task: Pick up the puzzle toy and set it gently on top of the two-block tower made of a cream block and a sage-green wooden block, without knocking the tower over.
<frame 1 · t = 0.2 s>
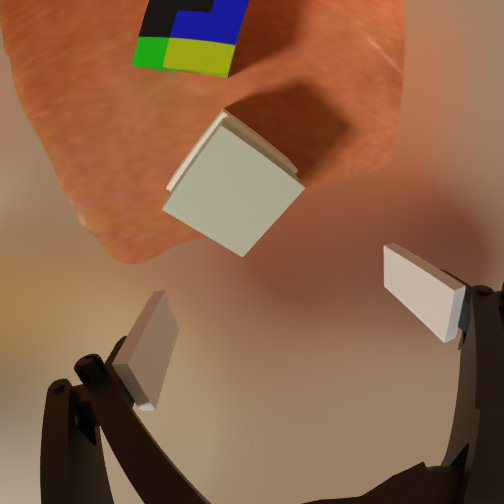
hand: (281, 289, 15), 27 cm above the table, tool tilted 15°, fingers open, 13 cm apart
tower top: (231, 178, 33), point 6 cm above the table, touching tower base
puzzle toy: (199, 40, 27), on the table
tower base: (230, 164, 38), on the table, touching tower top
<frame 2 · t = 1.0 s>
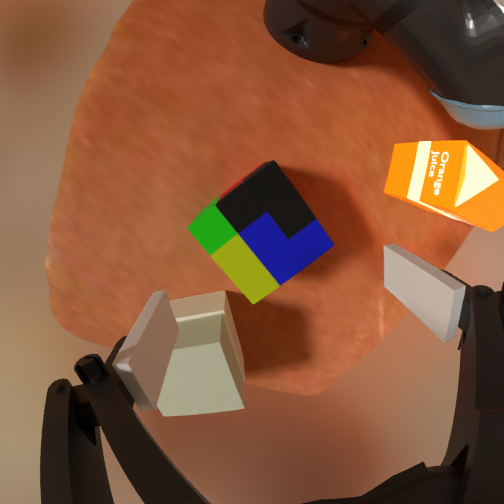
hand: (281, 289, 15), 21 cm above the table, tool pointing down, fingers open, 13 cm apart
tower top: (193, 355, 34), point 6 cm above the table, touching tower base
puzzle toy: (255, 217, 35), on the table
orange juice: (411, 177, 34), on the table
tower base: (196, 331, 40), on the table, touching tower top
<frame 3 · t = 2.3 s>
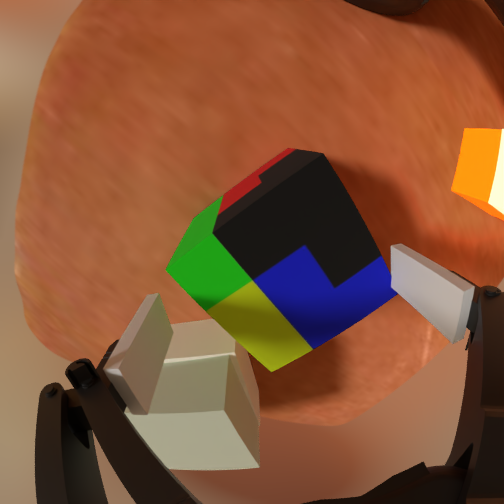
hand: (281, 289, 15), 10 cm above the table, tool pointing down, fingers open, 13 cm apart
tower top: (192, 399, 24), point 6 cm above the table, touching tower base
puzzle toy: (273, 227, 24), on the table, touching gripper
orange juice: (479, 173, 22), on the table
tower base: (198, 361, 30), on the table, touching tower top
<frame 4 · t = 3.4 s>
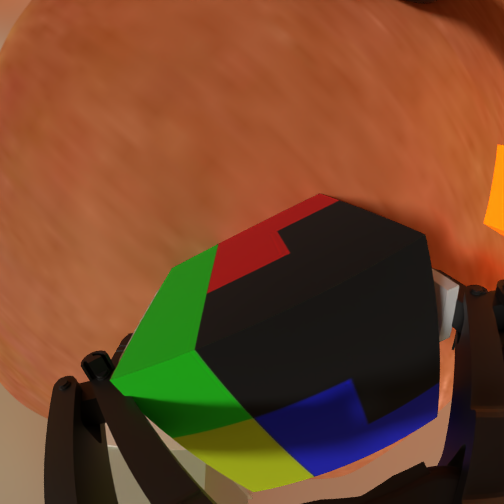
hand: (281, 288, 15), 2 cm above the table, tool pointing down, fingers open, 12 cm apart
tower top: (169, 479, 16), point 6 cm above the table, touching tower base
puzzle toy: (279, 297, 18), on the table
tower base: (178, 432, 22), on the table, touching tower top
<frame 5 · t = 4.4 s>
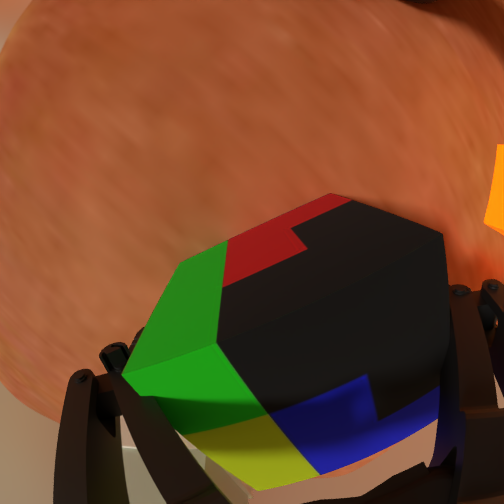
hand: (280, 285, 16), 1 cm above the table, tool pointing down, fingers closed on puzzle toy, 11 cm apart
tower top: (170, 478, 16), point 6 cm above the table, touching tower base
puzzle toy: (286, 295, 18), on the table, touching gripper
tower base: (179, 431, 22), on the table, touching tower top
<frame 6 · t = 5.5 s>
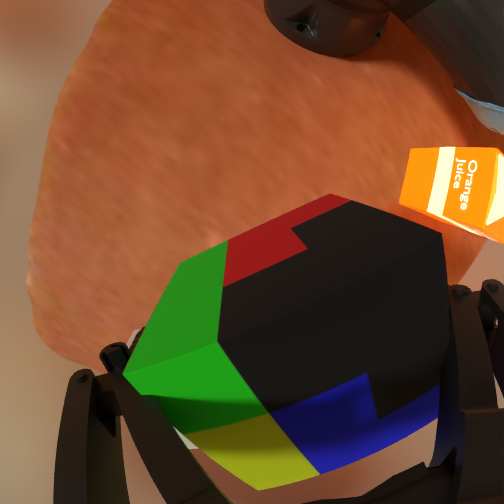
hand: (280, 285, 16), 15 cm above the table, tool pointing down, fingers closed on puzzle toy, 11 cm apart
puzzle toy: (285, 295, 18), point 14 cm above the table, touching gripper
orange juice: (427, 186, 30), on the table
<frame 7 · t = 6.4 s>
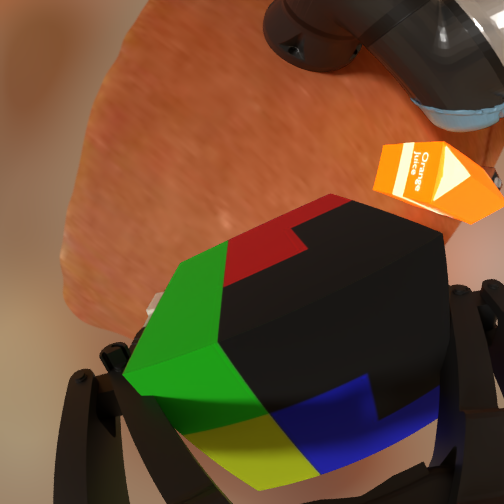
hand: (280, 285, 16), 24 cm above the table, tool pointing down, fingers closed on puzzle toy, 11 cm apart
battery: (458, 183, 39), on the table
puzzle toy: (286, 295, 18), point 23 cm above the table, touching gripper
orange juice: (399, 175, 38), on the table
when the fingers open (15 cm above the table, at t = 10.2 s): puzzle toy drops 3 cm, resting on tower top.
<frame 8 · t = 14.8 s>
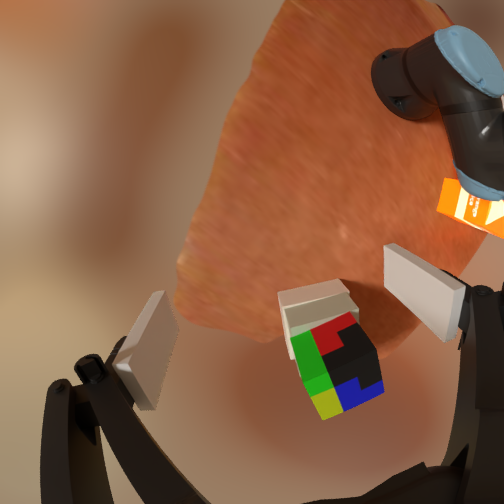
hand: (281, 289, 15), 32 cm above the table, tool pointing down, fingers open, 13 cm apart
tower top: (319, 326, 47), point 6 cm above the table, touching puzzle toy, tower base
puzzle toy: (328, 346, 41), point 11 cm above the table, touching tower top
orange juice: (452, 200, 47), on the table
tower base: (311, 311, 52), on the table, touching tower top
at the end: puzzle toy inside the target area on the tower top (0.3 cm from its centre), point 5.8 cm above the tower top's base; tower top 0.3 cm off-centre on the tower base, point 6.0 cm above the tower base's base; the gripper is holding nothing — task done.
